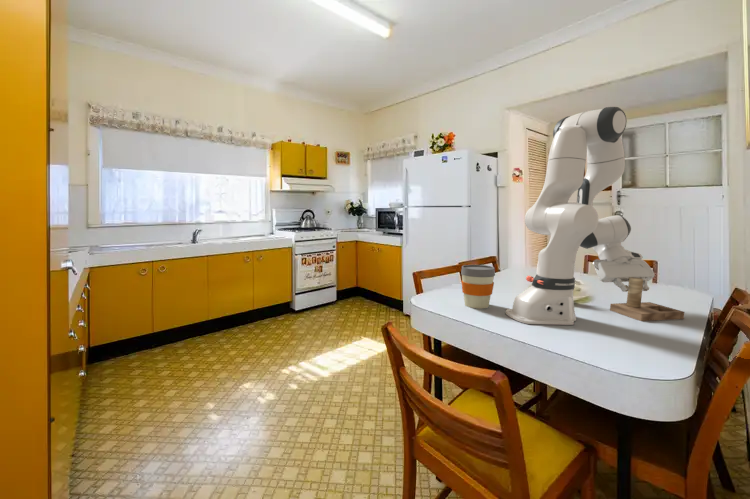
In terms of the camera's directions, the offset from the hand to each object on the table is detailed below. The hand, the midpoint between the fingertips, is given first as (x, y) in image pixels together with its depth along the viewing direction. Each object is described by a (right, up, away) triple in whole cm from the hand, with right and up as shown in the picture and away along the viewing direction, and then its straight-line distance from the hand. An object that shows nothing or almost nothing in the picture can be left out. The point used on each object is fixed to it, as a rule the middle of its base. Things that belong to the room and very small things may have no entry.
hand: (636, 290), depth 119 cm
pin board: (+3, -8, 0) cm, 9 cm away
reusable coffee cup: (-53, -7, +11) cm, 55 cm away
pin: (0, -6, +1) cm, 6 cm away
